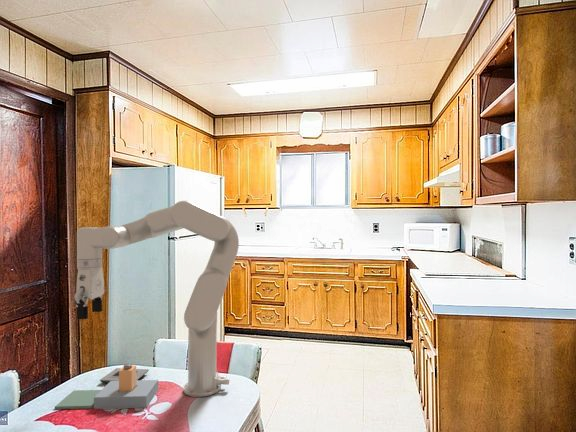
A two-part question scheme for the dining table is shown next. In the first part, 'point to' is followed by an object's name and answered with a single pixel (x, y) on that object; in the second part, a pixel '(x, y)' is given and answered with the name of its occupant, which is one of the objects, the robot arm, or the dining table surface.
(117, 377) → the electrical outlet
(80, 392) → the mat
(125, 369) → the plug
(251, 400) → the dining table surface
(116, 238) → the robot arm
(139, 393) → the grey socket block
